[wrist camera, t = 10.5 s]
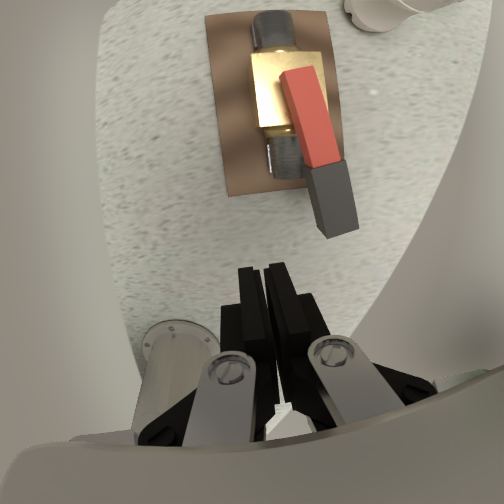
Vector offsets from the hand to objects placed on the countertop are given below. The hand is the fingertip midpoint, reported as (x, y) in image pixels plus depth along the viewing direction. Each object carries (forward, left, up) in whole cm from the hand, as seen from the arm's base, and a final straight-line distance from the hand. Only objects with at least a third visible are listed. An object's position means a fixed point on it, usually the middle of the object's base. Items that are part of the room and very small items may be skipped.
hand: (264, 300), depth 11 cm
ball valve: (+10, -6, -24) cm, 26 cm away
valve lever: (+4, -7, -17) cm, 18 cm away
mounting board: (+10, -5, -25) cm, 27 cm away
